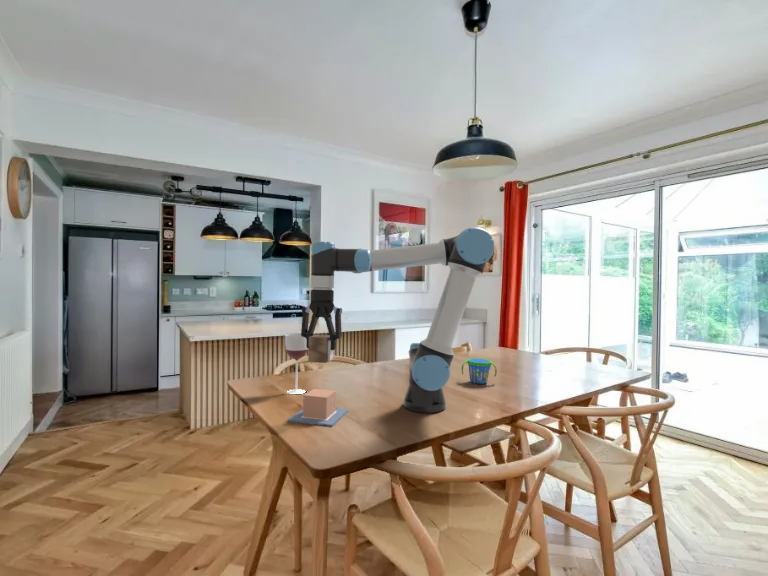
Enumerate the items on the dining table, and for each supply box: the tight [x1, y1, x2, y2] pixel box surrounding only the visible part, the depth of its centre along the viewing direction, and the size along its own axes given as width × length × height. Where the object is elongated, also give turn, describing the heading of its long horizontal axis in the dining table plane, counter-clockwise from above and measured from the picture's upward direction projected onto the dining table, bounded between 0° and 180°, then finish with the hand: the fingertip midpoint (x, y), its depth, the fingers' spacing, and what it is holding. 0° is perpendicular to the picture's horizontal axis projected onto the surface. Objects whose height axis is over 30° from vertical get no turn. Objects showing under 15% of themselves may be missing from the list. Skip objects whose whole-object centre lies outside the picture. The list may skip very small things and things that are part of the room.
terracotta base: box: [302, 388, 337, 419], centre depth 127 cm, size 8×8×7 cm
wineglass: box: [284, 332, 309, 395], centre depth 154 cm, size 9×10×23 cm
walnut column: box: [307, 334, 334, 364], centre depth 127 cm, size 6×6×8 cm
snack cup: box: [461, 357, 498, 385], centre depth 176 cm, size 16×10×10 cm
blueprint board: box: [287, 407, 349, 427], centre depth 127 cm, size 15×15×1 cm
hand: (320, 359), depth 127 cm, fingers closed on walnut column, 6 cm apart
